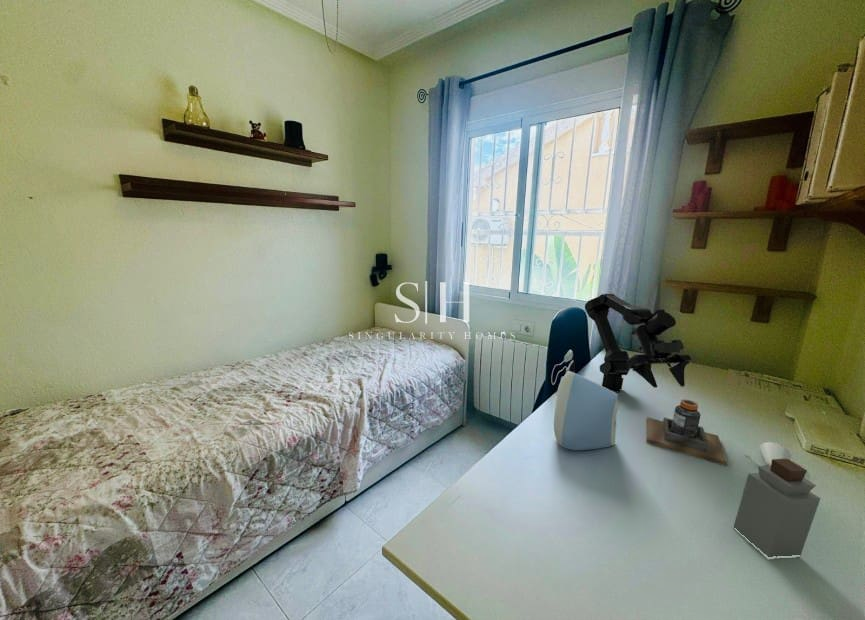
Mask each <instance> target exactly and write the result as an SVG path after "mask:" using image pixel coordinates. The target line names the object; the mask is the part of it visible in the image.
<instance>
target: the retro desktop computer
mask: <svg viewBox="0 0 865 620" xmlns="http://www.w3.org/2000/svg"><path fill="white" fill-rule="evenodd" d="M573 357H574V353H573V350H572V349H569V350H568V351H567V353H566V354H565V355H564V357H563V361H562V362H561V363H559V364H555V365H554V367H553V369H552V372H551V375H553V373H554V370H555V368H556V366H561V365H562V364H563V363H567V362H569V361H570V362H569V364H568V367H567V366H564V367H563V368H562V369H561V370H559V371H558V372H557V374H556V378H555V381H554V382H553V376H551V377H550V378H551V384H552V385H555V384H556V382H557V378H558V375H559V373H560V372H562V371H563V370H565V374H564V376H561V377H560V382H559V384H558V388H557V392H556V400H555V401H556V402H555V405H554V407H555V409H554V416H553V417H554V418H553V430H554V436H555V439H556V441H557V443H558V444H559V445H560V446H561V447H563V448H565V449H567V450H569V451H570V450H571V451H588V450H596V449H603V448H609V447H611V446H614V445H615V444H616V443H615V442H616V429H617V415H618V400H619V395H618V393H617V392H615V391H611V390H609V389H607V388H605V387H603V386H602V384H598V383H597V382H594V381H593V380H591V379H588V378H587V377H585V376H582V375H580V374H578V373H576V371H575V368H576V367H575V361H574V359H573ZM565 368H566V369H565ZM614 443H615V444H614Z"/></svg>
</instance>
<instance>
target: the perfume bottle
mask: <svg viewBox="0 0 865 620" xmlns="http://www.w3.org/2000/svg"><path fill="white" fill-rule="evenodd" d="M757 468H758V472H750V473H748V475H747V478H746V481H745V485H744V488H743V492H742V495H741V499H740V502H739V506H738V510H737V513H736V516H735V521H734V523H733V527H734V528H736V529H737V530H738V531H739V532H740V533H741V534H742V535H744V536H745V537H746V538H747V539H748V540H749V541H750V542H751V543H753V544H754V545H755V546H756V547H757V548H759V549H760V550H761V551H762V552H763V553H764V554H766V555H767V556H768V557H773V556H776V557H777V556H792V555H802V553H803V550H804V548H805V547H804V546H805V544H806V541H807V538H808V535H809V532H810V530H811V526H812V524H813V521H814V519H815V515H816V513H817V509H818V507H819V504H820V501H821V498H820V497H819V496H817V495H816V494H814V493H813V492H812V490H813V489H814V488H815V487H816V486H817V485H816V484H815V483H814V482H812V481H810V480H808V479H807V478H806V477H804V476H805V475H807V471H808V470H807V469H805V468H804V467H802V466H801V465H799V464H797V463H795V462H794V461H792V460H790V459H772V463H771V465H767V464H766V465H762V466H758V465H757Z"/></svg>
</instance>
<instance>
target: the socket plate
mask: <svg viewBox="0 0 865 620" xmlns="http://www.w3.org/2000/svg"><path fill="white" fill-rule="evenodd" d="M645 422H646V443H647V444H650V445H653V446H658V447H660V448H663V449H668V450H671V451H673V452H674V451H675V452H678V453H681V454H685V455H688V456H691V457H694V458H699V459H702V460H704V461H705V460H706V461H709V462H710V463H711V462H712V463H714V464H715V463H716V464H719V465H722V466H725V467H727V466H728V460H727V457H726V454H725V451H724V449H723V446H722V443H721V442H722V441H720V437H719V435H718V434H717V435H716V434H714V433H713V434H712V433H710V432H705V429H704V427H703V426H701V425H698V429H697V434H696V439H693V438H689V437H686V436H682V435H678V434H675V433H671V427H672V422H673V418H668V417H663V420H659V419H656V418H653V417H648V416H646V421H645Z"/></svg>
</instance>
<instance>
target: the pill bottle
mask: <svg viewBox="0 0 865 620" xmlns="http://www.w3.org/2000/svg"><path fill="white" fill-rule="evenodd" d="M698 408H699V404H698V403H697V402H695V401H693V400H690V399H681V400H680V404H678V405H676V406H675V409H674V411H673V418H672V419H673V422H672V427H671V433H675V434H678V435H682V436H686V437H689V438H693V439H696V434H697V429H698V426H700V425H699V424H700V419H701V412H700V411H699V410H698Z"/></svg>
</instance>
